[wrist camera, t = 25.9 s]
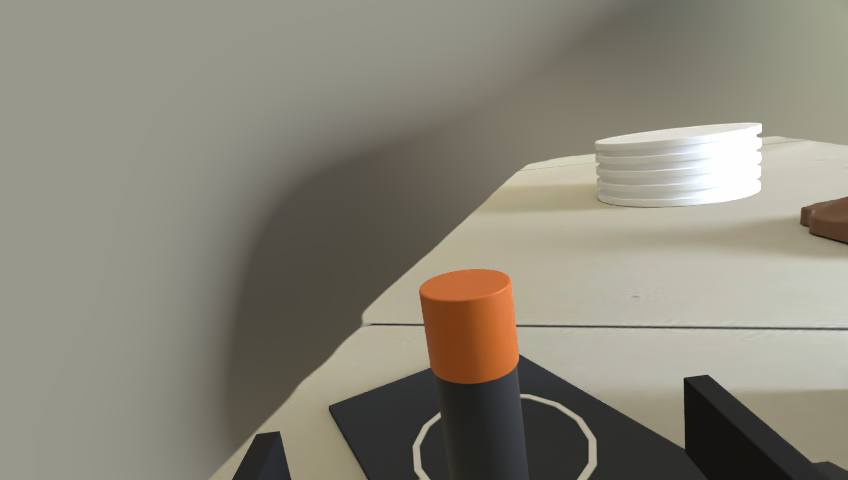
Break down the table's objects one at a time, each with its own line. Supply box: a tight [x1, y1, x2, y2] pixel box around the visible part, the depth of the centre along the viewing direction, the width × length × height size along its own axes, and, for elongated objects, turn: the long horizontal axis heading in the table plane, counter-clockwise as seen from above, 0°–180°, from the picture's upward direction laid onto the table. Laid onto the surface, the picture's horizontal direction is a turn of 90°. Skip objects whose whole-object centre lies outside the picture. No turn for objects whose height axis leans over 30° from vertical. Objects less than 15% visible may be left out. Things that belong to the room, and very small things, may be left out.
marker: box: [419, 269, 529, 480], centre depth 18 cm, size 3×3×13 cm
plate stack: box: [595, 123, 762, 207], centre depth 92 cm, size 28×28×12 cm
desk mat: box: [329, 354, 708, 480], centre depth 28 cm, size 15×22×1 cm
